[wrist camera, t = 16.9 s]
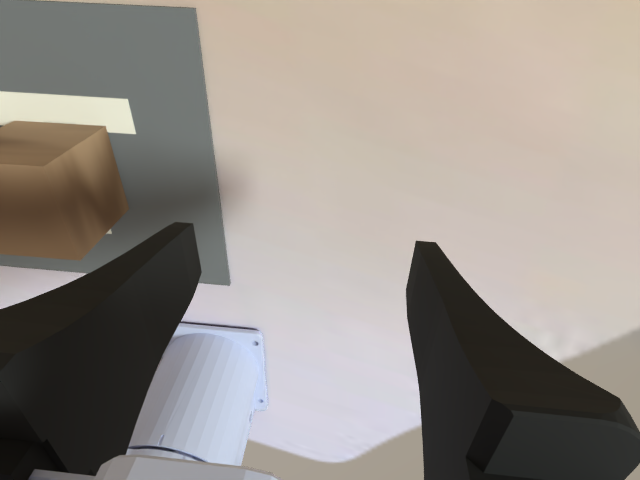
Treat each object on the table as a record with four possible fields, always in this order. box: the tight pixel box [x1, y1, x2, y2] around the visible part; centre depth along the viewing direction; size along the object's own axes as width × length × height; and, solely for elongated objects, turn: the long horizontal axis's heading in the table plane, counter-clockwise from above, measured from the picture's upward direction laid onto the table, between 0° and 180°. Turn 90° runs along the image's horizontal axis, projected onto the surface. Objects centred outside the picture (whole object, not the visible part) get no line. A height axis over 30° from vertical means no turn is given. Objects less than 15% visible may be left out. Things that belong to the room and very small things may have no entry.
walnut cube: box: [0, 121, 129, 261], centre depth 21 cm, size 5×5×5 cm
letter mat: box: [0, 0, 230, 286], centre depth 23 cm, size 16×16×1 cm
